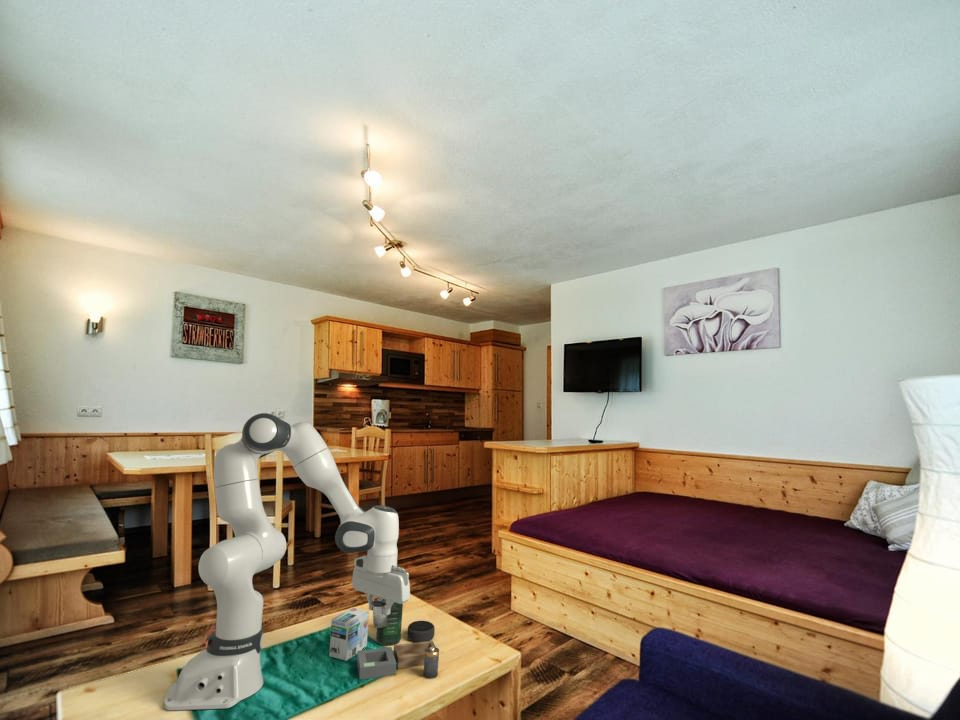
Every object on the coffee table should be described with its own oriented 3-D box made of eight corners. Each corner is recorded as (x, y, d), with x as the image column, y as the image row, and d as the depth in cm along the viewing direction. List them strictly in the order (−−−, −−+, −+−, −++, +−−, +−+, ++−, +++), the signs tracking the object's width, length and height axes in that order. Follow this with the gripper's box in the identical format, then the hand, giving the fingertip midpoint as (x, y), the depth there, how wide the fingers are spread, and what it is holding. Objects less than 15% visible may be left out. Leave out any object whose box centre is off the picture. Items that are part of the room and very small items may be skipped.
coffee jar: (402, 645, 153) (405, 584, 155) (376, 647, 151) (380, 585, 153) (399, 632, 162) (402, 574, 164) (375, 633, 160) (379, 575, 163)
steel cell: (371, 627, 138) (371, 601, 139) (375, 622, 142) (375, 596, 143) (384, 627, 138) (384, 600, 139) (388, 622, 142) (388, 596, 143)
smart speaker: (413, 646, 153) (413, 633, 153) (403, 635, 160) (403, 622, 161) (438, 641, 157) (439, 628, 158) (427, 630, 165) (428, 617, 165)
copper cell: (424, 679, 134) (426, 652, 134) (422, 671, 137) (423, 645, 138) (439, 677, 135) (440, 650, 136) (435, 670, 139) (437, 644, 139)
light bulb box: (346, 661, 142) (349, 623, 143) (328, 656, 144) (330, 618, 145) (367, 646, 152) (369, 610, 153) (350, 641, 154) (352, 606, 155)
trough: (397, 668, 139) (398, 657, 139) (393, 655, 146) (394, 645, 147) (438, 663, 142) (438, 653, 143) (432, 651, 150) (432, 640, 150)
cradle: (359, 679, 132) (360, 667, 133) (356, 661, 142) (357, 650, 142) (395, 674, 136) (396, 662, 136) (390, 657, 145) (391, 646, 145)
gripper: (415, 567, 139) (413, 617, 138) (365, 554, 150) (362, 600, 149) (401, 572, 134) (398, 624, 132) (350, 558, 145) (347, 606, 143)
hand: (379, 611), depth 141 cm, fingers closed on steel cell, 4 cm apart
